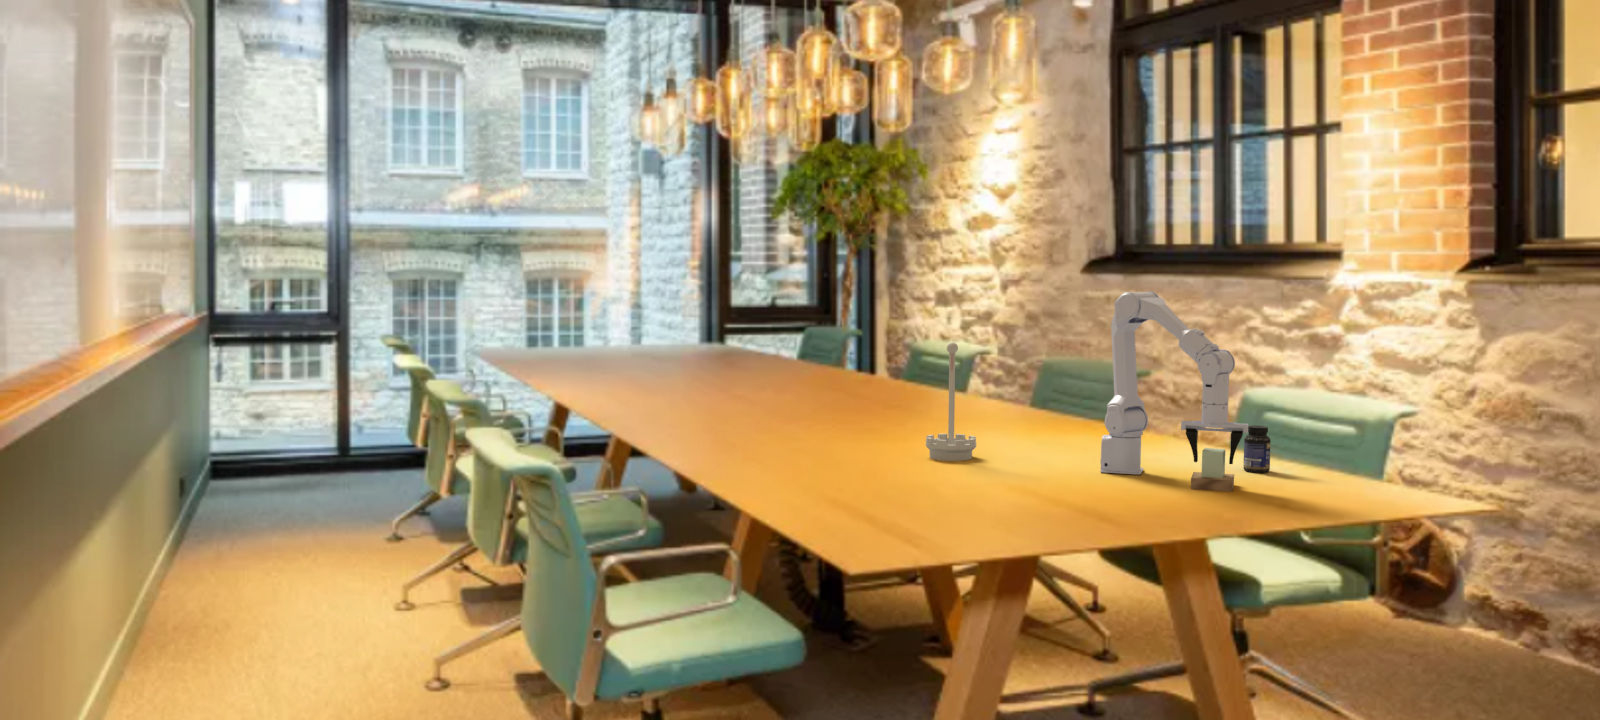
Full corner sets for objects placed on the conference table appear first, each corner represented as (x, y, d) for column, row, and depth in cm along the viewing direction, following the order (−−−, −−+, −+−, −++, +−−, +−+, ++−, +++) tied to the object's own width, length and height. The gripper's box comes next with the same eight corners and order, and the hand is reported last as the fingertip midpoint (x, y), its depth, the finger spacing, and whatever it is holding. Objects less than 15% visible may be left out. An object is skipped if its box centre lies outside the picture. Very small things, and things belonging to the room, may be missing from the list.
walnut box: (1190, 491, 295) (1191, 478, 295) (1193, 484, 304) (1193, 471, 303) (1232, 494, 292) (1232, 480, 292) (1233, 487, 301) (1234, 474, 300)
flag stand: (926, 452, 346) (927, 340, 343) (976, 454, 344) (977, 341, 341) (924, 460, 333) (925, 344, 330) (975, 462, 331) (977, 344, 328)
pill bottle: (1271, 473, 315) (1272, 428, 314) (1245, 472, 317) (1246, 427, 316) (1267, 469, 321) (1269, 425, 320) (1241, 468, 323) (1243, 424, 322)
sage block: (1201, 476, 297) (1202, 450, 296) (1204, 473, 301) (1205, 447, 300) (1222, 478, 295) (1223, 452, 294) (1224, 475, 299) (1225, 449, 298)
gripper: (1180, 404, 295) (1179, 463, 296) (1248, 406, 290) (1246, 467, 291) (1183, 400, 302) (1181, 458, 303) (1249, 403, 297) (1247, 462, 298)
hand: (1213, 462), depth 297 cm, fingers open, 7 cm apart
